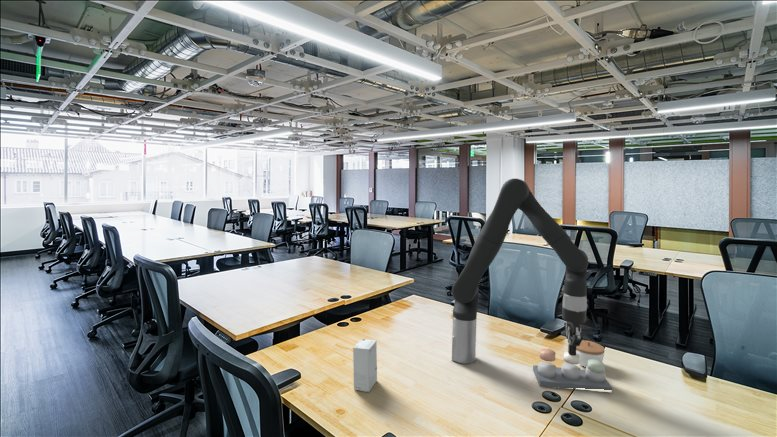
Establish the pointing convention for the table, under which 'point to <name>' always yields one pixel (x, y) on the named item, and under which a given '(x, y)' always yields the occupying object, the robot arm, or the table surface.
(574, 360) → the knob mid
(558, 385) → the control board
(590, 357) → the lidded jar
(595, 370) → the knob
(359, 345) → the skincare box
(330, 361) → the table surface
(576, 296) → the robot arm
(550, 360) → the knob
